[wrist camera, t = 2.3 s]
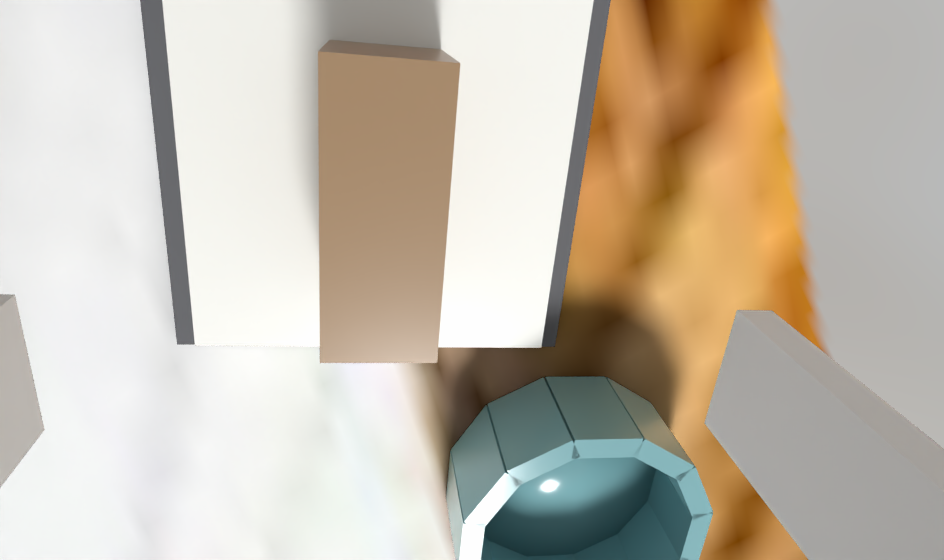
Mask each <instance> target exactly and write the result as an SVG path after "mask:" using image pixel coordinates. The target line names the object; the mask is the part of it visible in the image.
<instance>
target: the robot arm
mask: <svg viewBox="0 0 944 560" xmlns="http://www.w3.org/2000/svg"><path fill="white" fill-rule="evenodd" d="M705 424H706V426H707V427H708V428H709V430H710V431H711V432H712V434H713V435H714V436H715V438H716V439H717V440H718V441H719V443H720V444H721V445H722V447H723V448H724V449H725V451H726V452H727V453H728V455H729V456H730V457H731V458H732V460H733V461H734V462H735V464H736V465H737V466H738V468H739V469H740V470H741V472H742V473H743V474H744V476H745V477H746V478H747V479H748V481H749V482H750V483H751V485H752V486H753V487H754V489H755V490H756V491H757V493H758V494H759V495H760V496H761V498H762V499H763V500H764V502H765V503H766V504H767V506H768V507H769V508H770V510H771V511H772V512H773V514H774V515H775V516H776V517H777V519H778V520H779V521H780V523H781V524H782V525H783V527H784V528H785V529H786V531H787V532H788V533H789V534H790V536H791V537H792V538H793V540H794V541H795V542H796V544H797V545H798V546H799V548H800V549H801V550H802V552H803V553H804V554H805V555H806V557H807V558H808V559H809V560H944V449H943V448H942V447H941V446H940V445H938V444H937V443H936V442H935V441H934V440H932V439H931V438H930V437H929V436H927V435H926V434H925V433H924V432H922V431H921V430H920V429H919V428H917V427H916V426H915V425H914V424H912V423H911V422H910V421H909V420H907V419H906V418H905V417H904V416H902V415H901V414H900V413H898V412H897V411H896V410H895V409H894V408H892V407H891V406H890V405H889V404H887V403H886V402H885V401H884V400H882V399H881V398H880V397H879V396H877V395H876V394H875V393H874V392H872V391H871V390H870V389H869V388H868V387H866V386H865V385H864V384H863V383H861V382H860V381H859V380H857V379H856V378H855V377H854V376H853V375H851V374H850V373H849V372H847V371H846V370H845V369H844V368H842V367H841V366H840V365H839V364H838V363H836V362H835V361H834V360H833V359H831V358H830V357H829V356H828V355H826V354H825V353H824V352H823V351H821V350H820V349H819V348H818V347H816V346H815V345H814V344H813V343H811V342H810V341H809V340H808V339H806V338H805V337H804V336H803V335H801V334H800V333H799V332H798V331H796V330H795V329H794V328H793V327H792V326H790V325H789V324H788V323H787V322H785V321H784V320H783V319H782V318H780V317H779V316H778V315H777V314H775V313H774V312H773V311H761V310H737V312H736V315H735V319H734V322H733V326H732V329H731V333H730V336H729V340H728V343H727V347H726V350H725V354H724V357H723V361H722V364H721V368H720V371H719V375H718V378H717V381H716V385H715V388H714V392H713V395H712V399H711V402H710V406H709V409H708V413H707V416H706V420H705ZM43 431H44V426H43V421H42V416H41V412H40V407H39V403H38V398H37V394H36V389H35V385H34V380H33V375H32V371H31V366H30V362H29V357H28V353H27V348H26V344H25V339H24V335H23V330H22V325H21V321H20V316H19V312H18V307H17V303H16V298H15V295H3V294H0V487H1V486H2V485H3V483H4V482H5V481H6V480H7V478H8V477H9V476H10V474H11V473H12V472H13V470H14V469H15V468H16V466H17V465H18V464H19V462H20V461H21V460H22V459H23V457H24V456H25V455H26V453H27V452H28V451H29V449H30V448H31V447H32V445H33V444H34V443H35V441H36V440H37V439H38V438H39V436H40V435H41V434H42V432H43Z"/></svg>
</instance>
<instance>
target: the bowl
mask: <svg viewBox="0 0 944 560" xmlns="http://www.w3.org/2000/svg"><path fill="white" fill-rule="evenodd" d="M446 501H447V508H448V514H449V521H450V528H451V534H452V541H453V547H454V554H455V560H699V557H700V554H701V551H702V547H703V544H704V541H705V538H706V535H707V531H708V528H709V525H710V522H711V518H712V515H713V513H712V512H713V510H712V508H711V505H710V503H709V500H708V498H707V495H706V492H705V490H704V487H703V485H702V482H701V480H700V477H699V475H698V472H697V469H696V467H695V466H694V464H693V463H692V461H691V460H690V458H689V457H688V456H687V454H686V453H685V451H684V450H683V448H682V447H681V445H680V444H679V443H678V441H677V440H676V438H675V437H674V435H673V434H672V432H671V431H670V430H669V428H668V427H667V425H666V424H665V422H664V421H663V419H662V418H661V417H660V415H659V414H658V412H657V411H656V409H655V408H654V407H653V405H652V404H651V403H650V402H649V401H647V400H646V399H644V398H642V397H640V396H639V395H637V394H635V393H633V392H632V391H630V390H628V389H627V388H625V387H623V386H621V385H620V384H618V383H616V382H614V381H613V380H611V379H609V378H608V377H606V378H605V377H546V378H545V379H544V377H543V378H541V379H539V380H537V381H534V382H532V383H530V384H528V385H526V386H524V387H522V388H520V389H518V390H515V391H513V392H511V393H509V394H507V395H505V396H503V397H501V398H499V399H497V400H494V401H492V402H490V403H488V406H487V405H486V406H485V407H484V408H483V409H482V411H481V412H480V413H479V414H478V416H477V417H476V418H475V420H474V421H473V422H472V423H471V425H470V426H469V427H468V428H467V430H466V431H465V432H464V434H463V435H462V436H461V437H460V439H459V440H458V441H457V442H456V444H455V445H454V446H453V447H452V449H451V451H450V461H449V471H448V482H447V493H446Z"/></svg>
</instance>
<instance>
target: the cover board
mask: <svg viewBox="0 0 944 560" xmlns="http://www.w3.org/2000/svg"><path fill="white" fill-rule="evenodd" d="M593 1H594V0H162V4H163V14H164V25H165V35H166V46H167V56H168V67H169V77H170V88H171V99H172V109H173V120H174V130H175V141H176V151H177V162H178V172H179V183H180V194H181V204H182V215H183V225H184V236H185V246H186V257H187V267H188V278H189V288H190V299H191V310H192V320H193V331H194V341H195V346H312V347H320V363H437V357H438V347H493V348H541V346H542V339H543V333H544V326H545V319H546V313H547V306H548V299H549V293H550V286H551V280H552V273H553V266H554V260H555V253H556V246H557V240H558V233H559V227H560V220H561V213H562V207H563V200H564V193H565V187H566V180H567V174H568V167H569V160H570V154H571V147H572V141H573V134H574V127H575V121H576V114H577V107H578V101H579V94H580V88H581V81H582V74H583V68H584V61H585V54H586V48H587V41H588V35H589V28H590V21H591V15H592V8H593Z"/></svg>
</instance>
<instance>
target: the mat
mask: <svg viewBox="0 0 944 560" xmlns="http://www.w3.org/2000/svg"><path fill="white" fill-rule="evenodd" d="M610 1H611V0H594V1H593V8H592V15H591V21H590V28H589V35H588V41H587V48H586V54H585V61H584V68H583V74H582V81H581V88H580V94H579V101H578V107H577V114H576V121H575V127H574V134H573V141H572V147H571V154H570V160H569V167H568V174H567V180H566V187H565V193H564V200H563V207H562V213H561V220H560V227H559V233H558V240H557V246H556V253H555V260H554V266H553V273H552V280H551V286H550V293H549V299H548V306H547V313H546V319H545V326H544V333H543V339H542V346H541V347H555V343H556V337H557V331H558V324H559V318H560V312H561V306H562V299H563V293H564V287H565V281H566V274H567V268H568V262H569V256H570V250H571V243H572V237H573V231H574V225H575V218H576V212H577V206H578V200H579V194H580V187H581V181H582V175H583V169H584V162H585V156H586V150H587V144H588V138H589V131H590V125H591V119H592V113H593V106H594V100H595V94H596V88H597V82H598V75H599V69H600V63H601V57H602V50H603V44H604V38H605V32H606V26H607V19H608V13H609V7H610ZM140 2H141V11H142V20H143V30H144V39H145V48H146V58H147V67H148V76H149V86H150V95H151V104H152V114H153V123H154V132H155V142H156V151H157V160H158V170H159V179H160V188H161V198H162V207H163V216H164V226H165V235H166V244H167V254H168V263H169V272H170V282H171V291H172V300H173V309H174V319H175V328H176V337H177V344H195V341H194V331H193V320H192V310H191V299H190V288H189V278H188V267H187V257H186V246H185V236H184V225H183V215H182V204H181V194H180V183H179V172H178V162H177V151H176V141H175V130H174V120H173V109H172V99H171V88H170V77H169V67H168V56H167V46H166V35H165V25H164V14H163V4H162V0H140Z"/></svg>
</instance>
